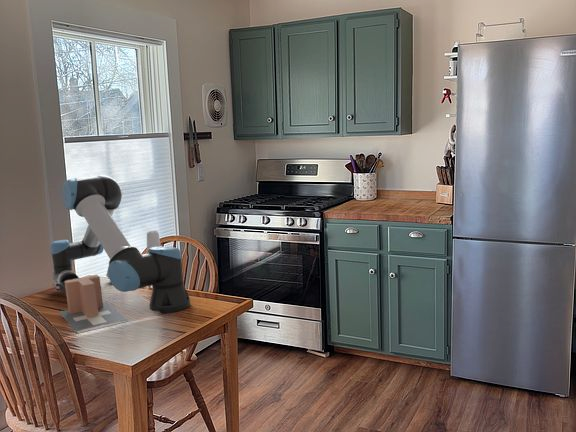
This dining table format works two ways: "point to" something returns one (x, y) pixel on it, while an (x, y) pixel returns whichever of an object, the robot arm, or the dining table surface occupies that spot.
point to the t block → (84, 295)
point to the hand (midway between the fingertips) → (81, 292)
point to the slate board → (93, 318)
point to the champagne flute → (153, 240)
